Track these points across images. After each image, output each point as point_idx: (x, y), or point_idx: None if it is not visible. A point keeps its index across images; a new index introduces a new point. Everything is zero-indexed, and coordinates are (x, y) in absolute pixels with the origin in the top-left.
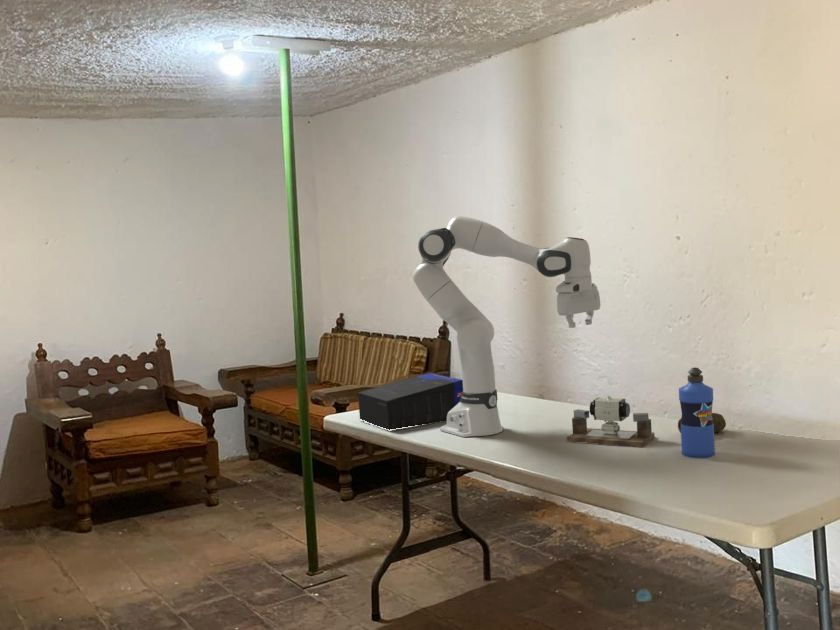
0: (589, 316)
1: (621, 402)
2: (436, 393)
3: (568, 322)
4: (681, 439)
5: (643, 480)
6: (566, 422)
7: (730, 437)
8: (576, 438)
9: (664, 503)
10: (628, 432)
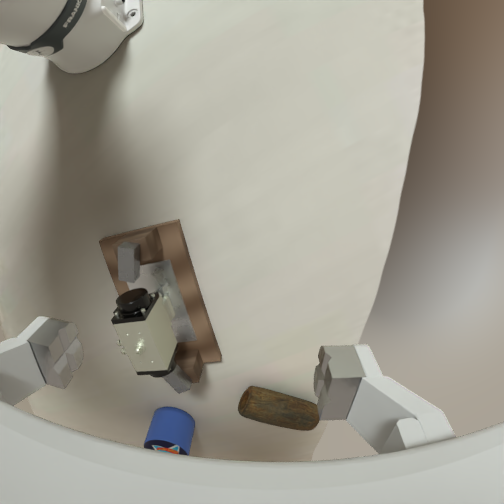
0: (377, 423)
1: (143, 372)
2: None
3: (12, 341)
4: (154, 423)
5: (57, 395)
6: (248, 128)
7: (277, 426)
8: (105, 259)
9: (38, 415)
10: (188, 329)
